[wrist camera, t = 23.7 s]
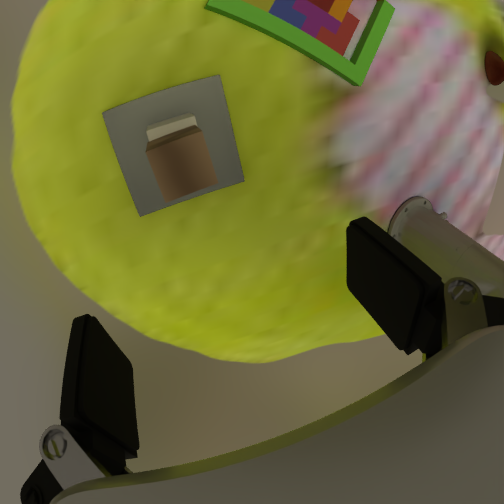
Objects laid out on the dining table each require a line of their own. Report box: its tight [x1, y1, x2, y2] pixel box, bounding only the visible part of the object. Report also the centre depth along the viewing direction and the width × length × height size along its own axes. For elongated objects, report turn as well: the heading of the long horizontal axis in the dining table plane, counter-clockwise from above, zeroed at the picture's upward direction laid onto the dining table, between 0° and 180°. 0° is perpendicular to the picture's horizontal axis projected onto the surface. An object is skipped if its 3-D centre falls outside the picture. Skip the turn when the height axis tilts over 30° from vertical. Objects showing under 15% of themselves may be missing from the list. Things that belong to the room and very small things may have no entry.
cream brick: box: [146, 113, 197, 141], centre depth 30 cm, size 5×7×5 cm
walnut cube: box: [146, 125, 218, 203], centre depth 26 cm, size 5×5×5 cm
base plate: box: [102, 75, 245, 217], centre depth 32 cm, size 14×14×1 cm
